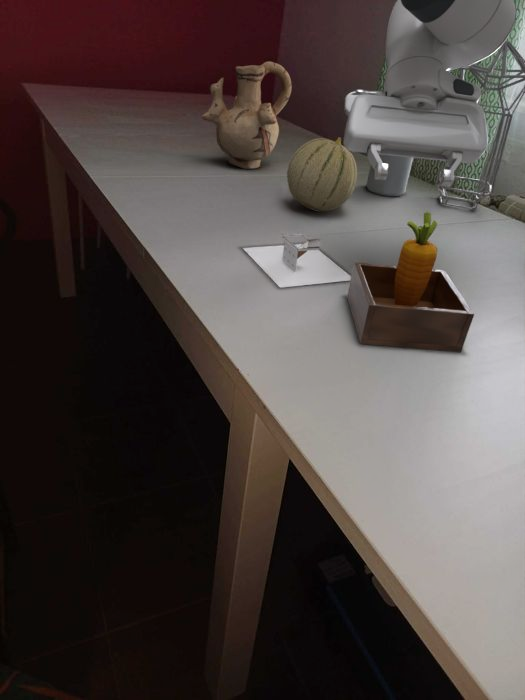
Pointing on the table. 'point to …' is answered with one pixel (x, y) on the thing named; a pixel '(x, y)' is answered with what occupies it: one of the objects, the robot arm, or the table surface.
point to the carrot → (415, 264)
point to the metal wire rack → (521, 62)
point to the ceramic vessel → (248, 115)
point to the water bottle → (391, 176)
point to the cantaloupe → (322, 174)
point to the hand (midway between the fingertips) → (414, 181)
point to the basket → (407, 311)
